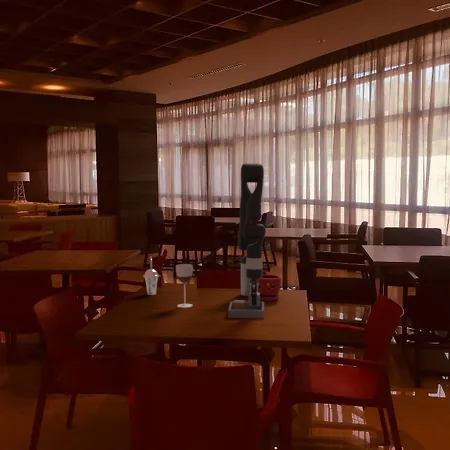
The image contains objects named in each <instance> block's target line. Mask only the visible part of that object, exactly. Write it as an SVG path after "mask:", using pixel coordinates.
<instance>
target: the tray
mask: <svg viewBox="0 0 450 450" xmlns="http://www.w3.org/2000/svg"><path fill="white" fill-rule="evenodd" d="M233 302H234V301H230V302H229V305H228V310H227V313H228V314H227V318H228V319H264V318H265V302H264V301H260V306H249V301H245V310H233Z"/></svg>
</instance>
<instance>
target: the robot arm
mask: <svg viewBox="0 0 450 450" xmlns="http://www.w3.org/2000/svg"><path fill="white" fill-rule="evenodd" d="M264 175H265V170H264V166H263V164H262V163H251V162H250V163H243V164H242V165H241V168H240V200H239V201H240V202H239V227H238V235H237V247H238V249H239V250H240V251H246V255H244V256H242V257H240V295H241V296H243V297H244V296H245V297H249V293H251V297H252V305H257V293H258V284H259V281H257V278H262V275H263V257H262V256H263V254H262V253H263V251H262V250H263V244H264V239H265V236H266V232H267V231H266V229H267V228H266V226H265V225H264V224H262V223H257V222H259V221H261V220H262V198H263V188H264ZM248 183H250V184H252V183H255V184H256V186H255V188H254V189H253V191H252V192H251V190H250V187H249V184H248ZM253 293H256V294H253Z"/></svg>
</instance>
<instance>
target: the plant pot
mask: <svg viewBox="0 0 450 450" xmlns="http://www.w3.org/2000/svg"><path fill="white" fill-rule="evenodd" d="M257 281H259V284H258V293H260V301H265V302H268V301H269V302H270V301H272V302H273V301H276V300H278V299H279V298H280V294H279V293H280V290H281V284H282V277H281V276H280V275H275V274H262V278H257Z"/></svg>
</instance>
